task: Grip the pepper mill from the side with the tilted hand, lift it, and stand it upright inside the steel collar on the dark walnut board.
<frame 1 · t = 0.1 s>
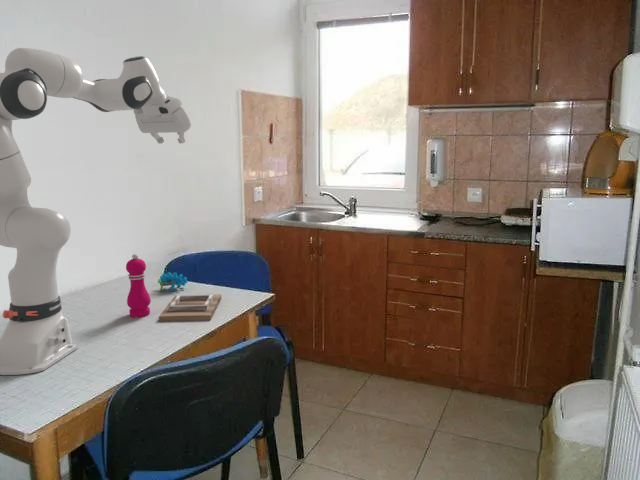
hand: (171, 142, 181), 54 cm above the table, tool tilted 30°, fingers open, 8 cm apart
toy dinosaur: (173, 290, 198), on the table
walnut board: (192, 309, 175), on the table
pepper mill: (140, 314, 170), on the table
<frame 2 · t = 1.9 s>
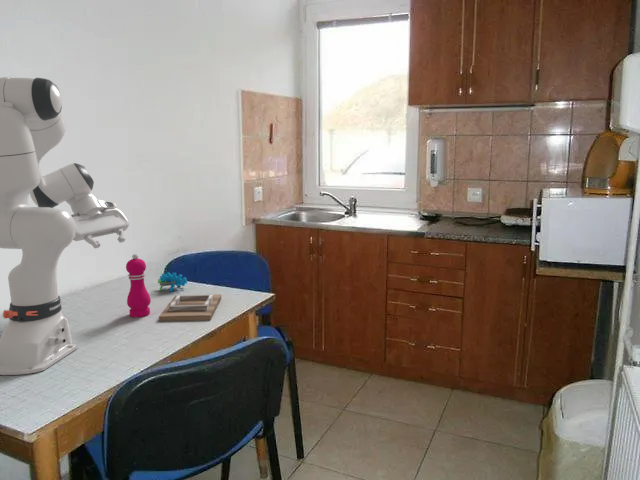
hand: (110, 244, 173), 22 cm above the table, tool tilted 45°, fingers open, 8 cm apart
nothing on the table moved.
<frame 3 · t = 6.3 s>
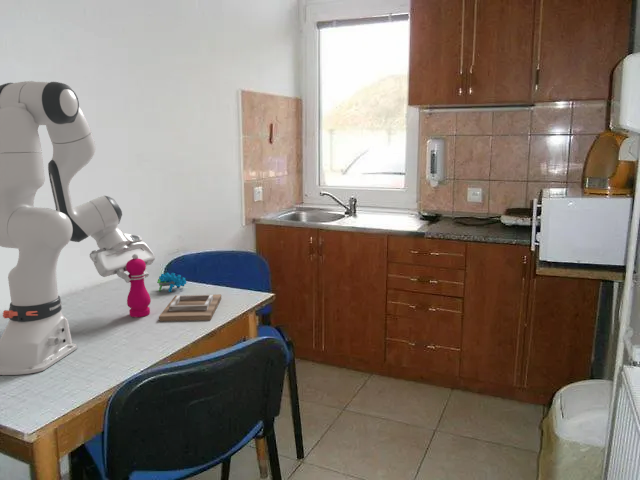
hand: (138, 279, 168), 12 cm above the table, tool tilted 45°, fingers closed on pepper mill, 5 cm apart
pepper mill: (140, 314, 170), on the table, touching gripper
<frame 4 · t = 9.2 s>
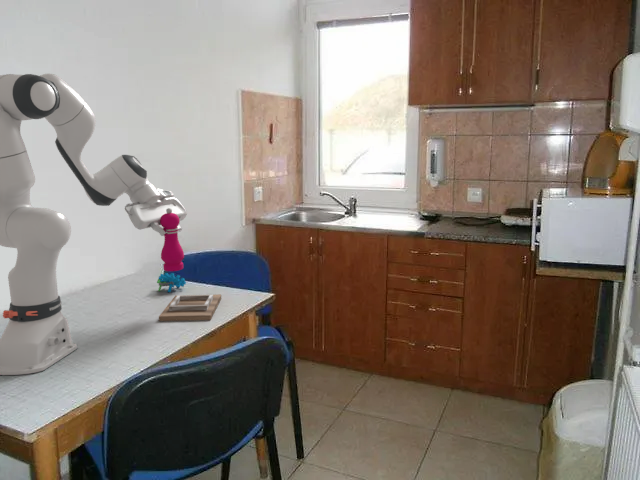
hand: (172, 232, 168), 26 cm above the table, tool tilted 45°, fingers closed on pepper mill, 5 cm apart
pepper mill: (173, 269, 171), point 14 cm above the table, touching gripper
when the fingers open (14 cm above the table, at t = 12.6 s): pepper mill moves 2 cm, resting on walnut board.
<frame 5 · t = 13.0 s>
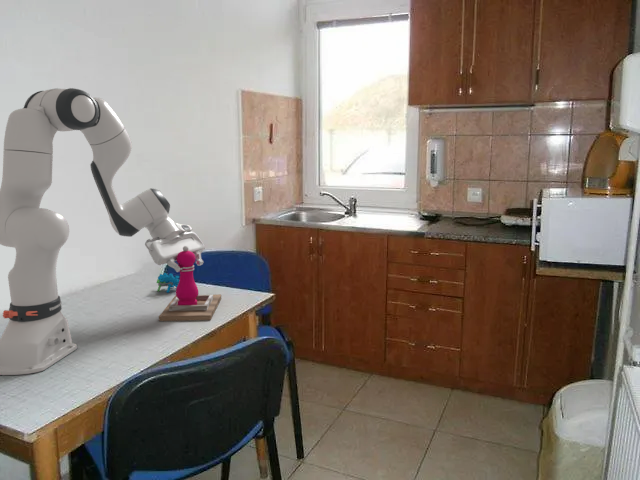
hand: (190, 267, 172), 14 cm above the table, tool tilted 45°, fingers open, 8 cm apart
pepper mill: (187, 306, 173), point 1 cm above the table, touching gripper, walnut board
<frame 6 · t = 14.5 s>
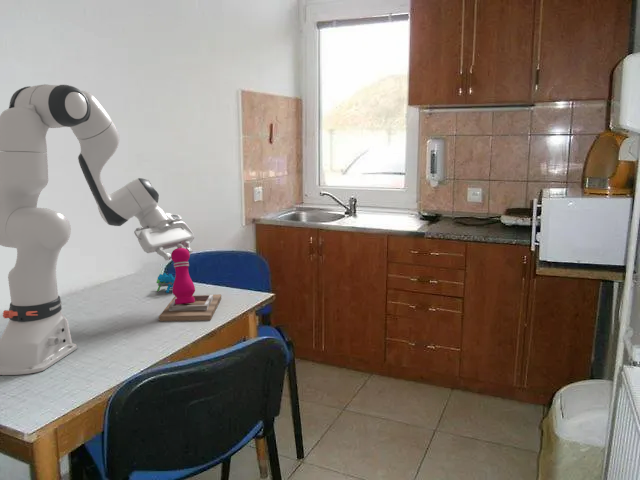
hand: (180, 256, 173), 18 cm above the table, tool tilted 45°, fingers open, 8 cm apart
pepper mill: (185, 304, 172), point 2 cm above the table, touching walnut board
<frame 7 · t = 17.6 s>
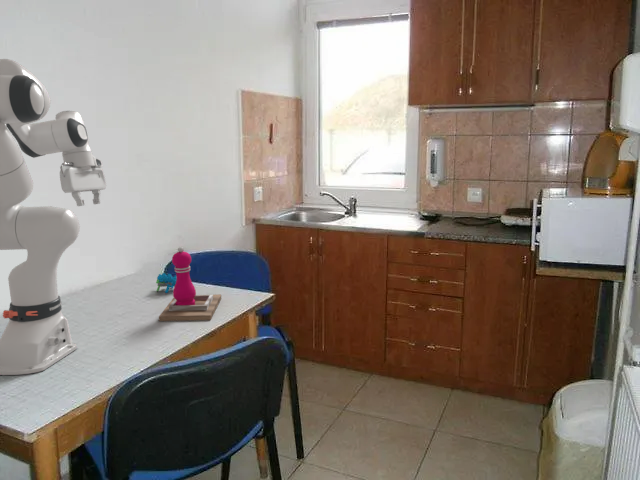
hand: (89, 204, 172), 35 cm above the table, tool pointing down, fingers open, 8 cm apart
pepper mill: (185, 306, 173), point 1 cm above the table, touching walnut board
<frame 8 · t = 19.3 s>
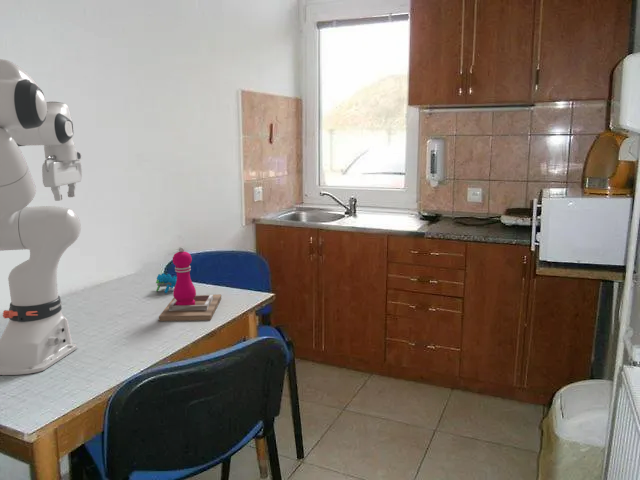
hand: (65, 198, 169), 37 cm above the table, tool pointing down, fingers open, 8 cm apart
at the end: pepper mill 2.5 cm off-centre on the walnut board, point 1.3 cm above the walnut board's base; pepper mill tilted 1°; the gripper is holding nothing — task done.
